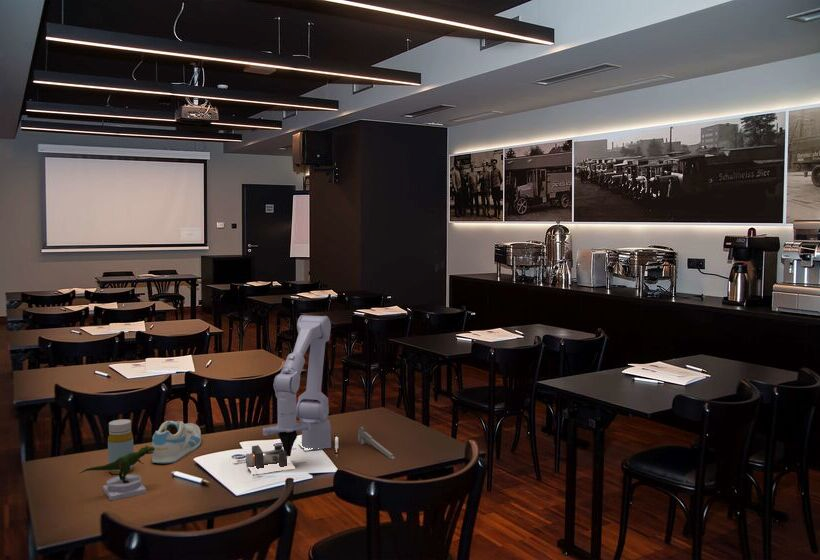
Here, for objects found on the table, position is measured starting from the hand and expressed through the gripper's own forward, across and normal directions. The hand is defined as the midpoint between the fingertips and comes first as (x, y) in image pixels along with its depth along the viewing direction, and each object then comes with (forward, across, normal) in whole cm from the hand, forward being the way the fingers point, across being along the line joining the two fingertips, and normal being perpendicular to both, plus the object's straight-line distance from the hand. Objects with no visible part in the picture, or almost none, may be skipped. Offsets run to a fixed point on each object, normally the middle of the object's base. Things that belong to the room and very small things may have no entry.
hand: (287, 455), depth 209 cm
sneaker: (+3, -30, +27) cm, 41 cm away
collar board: (+3, -5, 0) cm, 6 cm away
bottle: (+3, -47, +15) cm, 50 cm away
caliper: (+4, +30, +2) cm, 30 cm away
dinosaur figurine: (+3, -48, -3) cm, 48 cm away
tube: (+2, -7, 0) cm, 7 cm away
